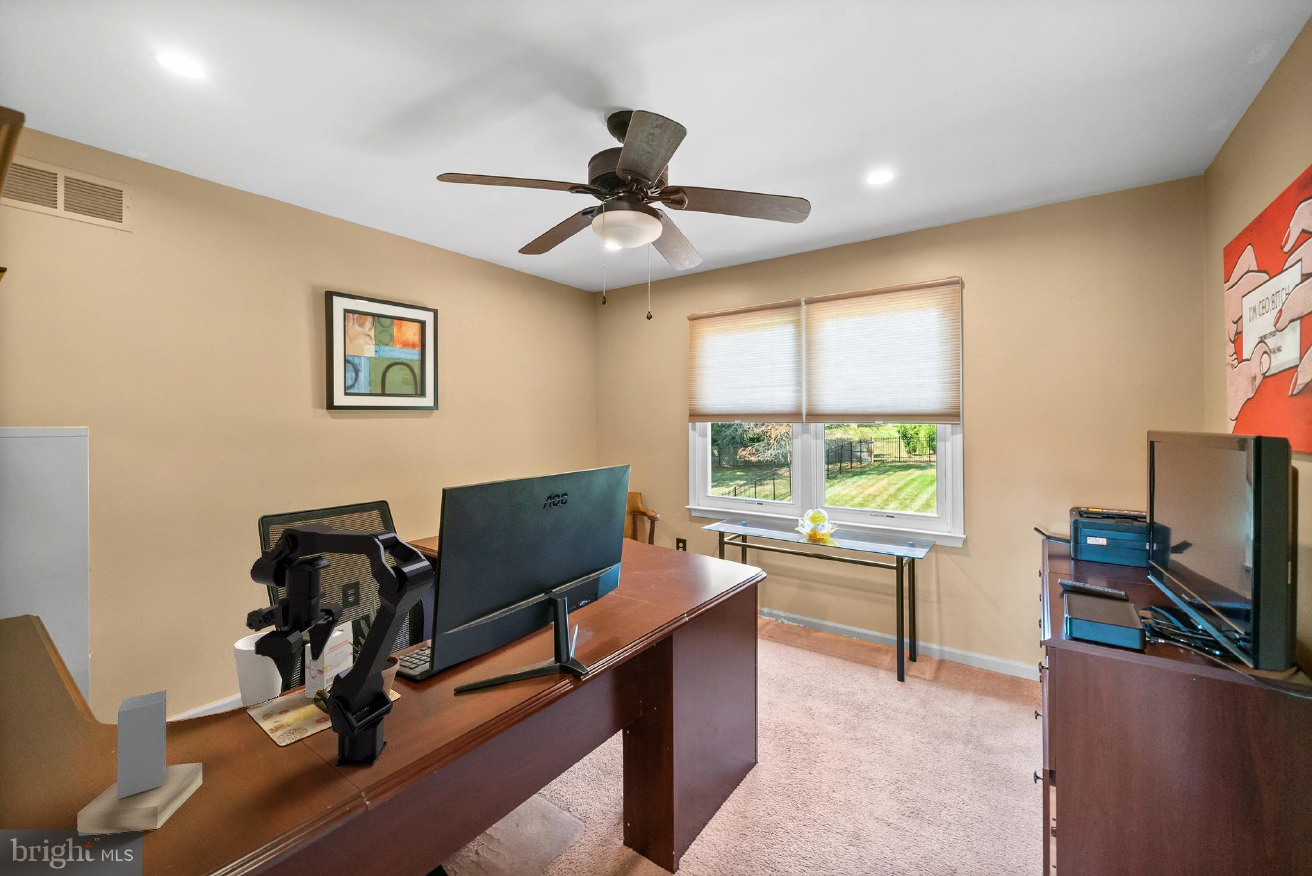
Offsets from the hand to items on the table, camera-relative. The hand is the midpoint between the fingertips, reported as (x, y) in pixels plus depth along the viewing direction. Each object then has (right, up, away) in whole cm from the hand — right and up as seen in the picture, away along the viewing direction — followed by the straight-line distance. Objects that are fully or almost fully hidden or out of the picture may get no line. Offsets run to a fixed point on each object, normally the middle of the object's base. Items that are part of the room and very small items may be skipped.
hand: (301, 670), depth 101 cm
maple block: (-12, -14, -19) cm, 26 cm away
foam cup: (-18, -12, +13) cm, 25 cm away
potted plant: (+5, -13, +16) cm, 21 cm away
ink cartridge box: (-6, -13, +18) cm, 23 cm away
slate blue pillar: (-12, -9, -19) cm, 24 cm away
